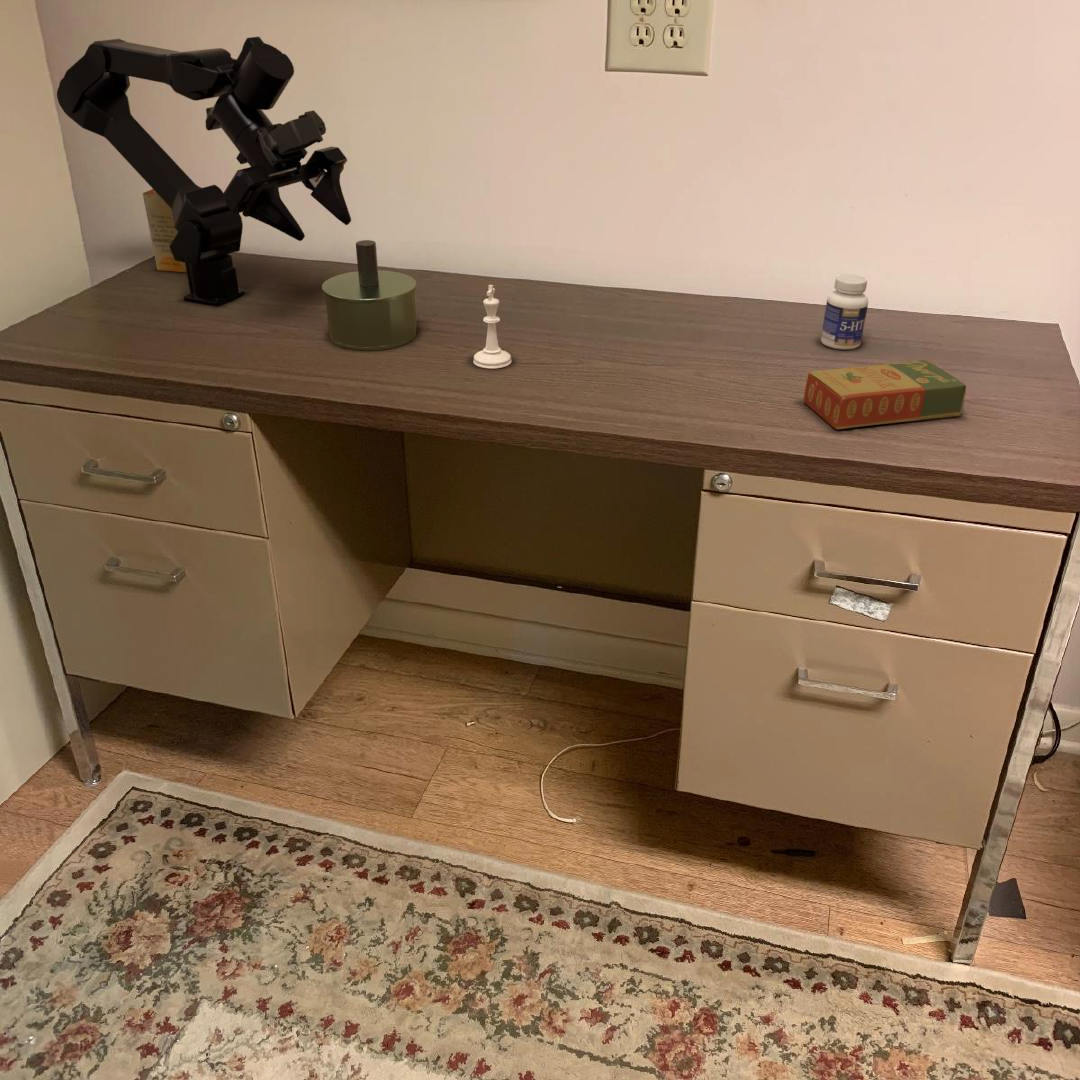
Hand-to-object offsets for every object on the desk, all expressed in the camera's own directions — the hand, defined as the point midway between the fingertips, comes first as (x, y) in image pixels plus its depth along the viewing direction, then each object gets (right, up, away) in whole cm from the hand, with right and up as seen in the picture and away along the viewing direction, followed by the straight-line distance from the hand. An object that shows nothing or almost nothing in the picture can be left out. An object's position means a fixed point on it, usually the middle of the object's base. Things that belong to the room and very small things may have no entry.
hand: (326, 230), depth 136 cm
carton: (+68, -26, -16) cm, 75 cm away
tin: (+6, -13, +4) cm, 15 cm away
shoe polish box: (-30, +3, +30) cm, 43 cm away
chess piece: (+22, -18, -4) cm, 29 cm away
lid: (+6, -8, +1) cm, 9 cm away
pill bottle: (+69, -15, +2) cm, 70 cm away
